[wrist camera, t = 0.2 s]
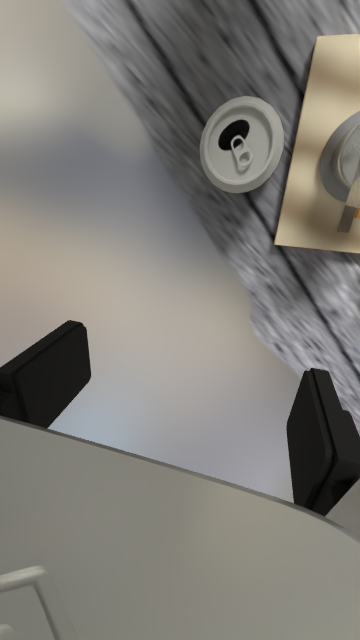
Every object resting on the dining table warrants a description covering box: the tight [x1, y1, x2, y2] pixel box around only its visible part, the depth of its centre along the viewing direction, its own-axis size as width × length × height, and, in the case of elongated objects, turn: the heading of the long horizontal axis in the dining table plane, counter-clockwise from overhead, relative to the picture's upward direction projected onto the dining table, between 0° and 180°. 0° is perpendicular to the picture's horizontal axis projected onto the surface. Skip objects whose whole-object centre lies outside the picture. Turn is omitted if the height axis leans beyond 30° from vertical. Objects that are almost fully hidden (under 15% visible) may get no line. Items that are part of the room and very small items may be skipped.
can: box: [200, 96, 284, 193], centre depth 29 cm, size 8×8×12 cm
